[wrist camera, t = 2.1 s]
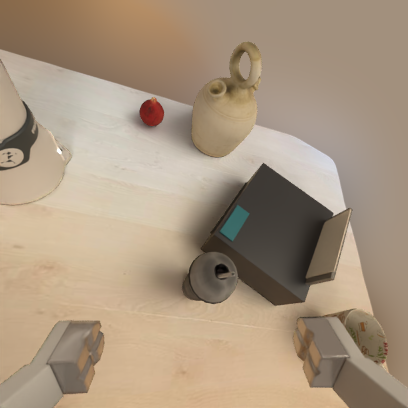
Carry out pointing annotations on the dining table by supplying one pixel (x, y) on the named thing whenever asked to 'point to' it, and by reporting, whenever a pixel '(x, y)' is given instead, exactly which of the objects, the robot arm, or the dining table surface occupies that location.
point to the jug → (227, 106)
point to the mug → (365, 334)
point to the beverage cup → (210, 278)
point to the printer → (279, 238)
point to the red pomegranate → (151, 112)
